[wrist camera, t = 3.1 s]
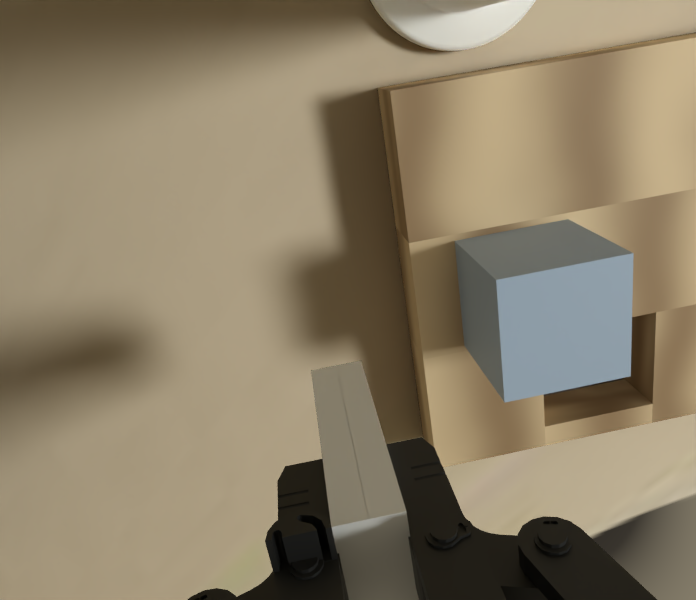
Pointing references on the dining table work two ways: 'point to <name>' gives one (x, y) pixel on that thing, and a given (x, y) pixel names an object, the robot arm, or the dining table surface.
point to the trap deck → (545, 207)
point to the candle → (451, 20)
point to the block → (546, 308)
